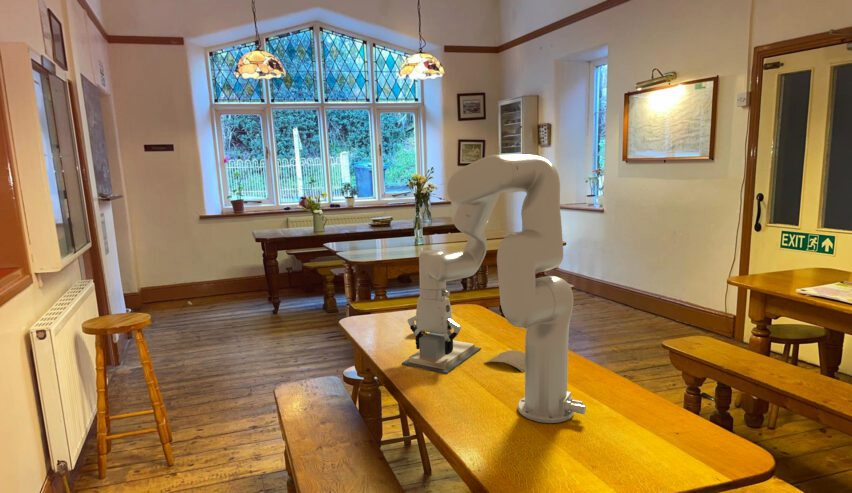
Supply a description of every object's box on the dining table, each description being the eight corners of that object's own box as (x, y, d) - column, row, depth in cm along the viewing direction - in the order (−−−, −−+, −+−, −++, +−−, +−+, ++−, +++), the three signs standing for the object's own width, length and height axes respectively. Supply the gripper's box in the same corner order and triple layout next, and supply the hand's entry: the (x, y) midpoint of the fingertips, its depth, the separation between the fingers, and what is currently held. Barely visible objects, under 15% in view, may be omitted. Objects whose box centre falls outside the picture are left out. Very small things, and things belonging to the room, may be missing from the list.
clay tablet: (541, 364, 149) (541, 355, 149) (527, 376, 141) (527, 366, 140) (496, 354, 157) (496, 346, 157) (480, 365, 149) (480, 356, 149)
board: (439, 341, 168) (439, 336, 168) (481, 349, 160) (480, 343, 160) (401, 364, 150) (401, 357, 149) (446, 374, 142) (446, 367, 142)
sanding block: (433, 349, 155) (433, 330, 155) (449, 352, 153) (449, 333, 152) (419, 358, 149) (419, 338, 148) (436, 361, 146) (435, 341, 145)
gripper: (465, 293, 146) (466, 351, 149) (414, 287, 155) (415, 342, 158) (453, 299, 140) (454, 359, 143) (400, 292, 149) (402, 349, 152)
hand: (434, 350), depth 150 cm, fingers open, 9 cm apart
